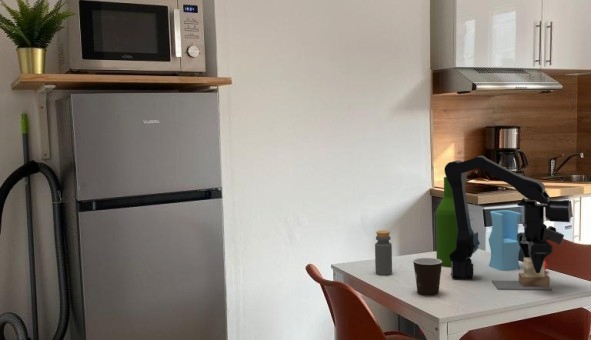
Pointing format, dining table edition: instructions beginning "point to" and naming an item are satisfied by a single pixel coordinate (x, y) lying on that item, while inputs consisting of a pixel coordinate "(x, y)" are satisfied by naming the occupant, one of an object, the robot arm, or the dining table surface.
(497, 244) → the vase
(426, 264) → the coffee mug
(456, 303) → the dining table surface
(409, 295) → the dining table surface
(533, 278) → the brown block
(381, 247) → the bottle
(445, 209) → the wine bottle
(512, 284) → the mat
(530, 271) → the birch cube
